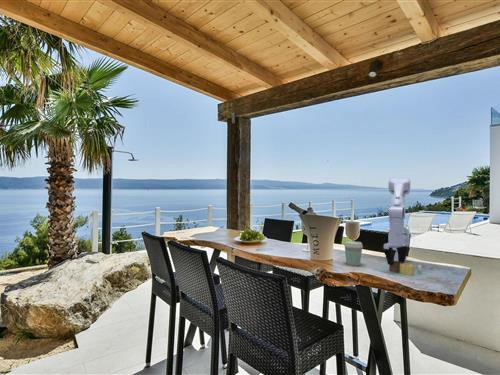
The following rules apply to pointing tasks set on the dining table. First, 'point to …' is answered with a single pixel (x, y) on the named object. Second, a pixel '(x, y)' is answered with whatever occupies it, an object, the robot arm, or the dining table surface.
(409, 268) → the pale yellow block
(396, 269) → the gear
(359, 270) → the dining table surface
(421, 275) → the gear board
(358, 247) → the coffee cup
